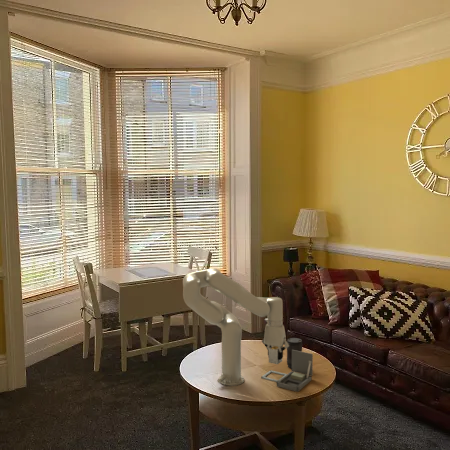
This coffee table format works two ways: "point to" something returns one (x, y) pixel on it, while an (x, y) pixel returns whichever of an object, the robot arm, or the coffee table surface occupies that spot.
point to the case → (300, 364)
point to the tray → (270, 378)
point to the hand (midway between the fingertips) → (275, 357)
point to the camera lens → (293, 345)
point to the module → (274, 355)
